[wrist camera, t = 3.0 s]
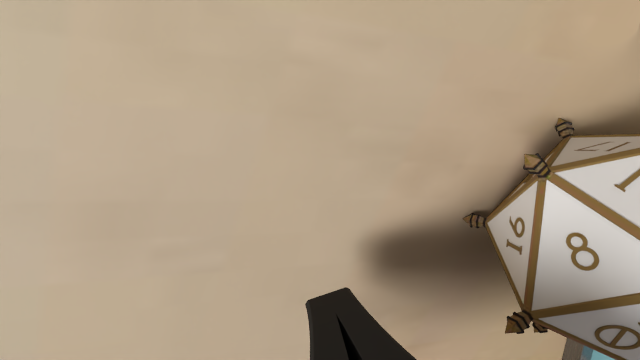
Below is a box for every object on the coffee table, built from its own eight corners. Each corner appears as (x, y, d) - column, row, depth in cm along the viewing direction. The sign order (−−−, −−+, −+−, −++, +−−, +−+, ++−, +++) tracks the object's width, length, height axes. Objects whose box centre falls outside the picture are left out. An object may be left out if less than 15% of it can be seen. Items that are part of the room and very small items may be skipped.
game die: (473, 187, 20) (541, 407, 15) (405, 119, 13) (489, 462, 9) (693, 116, 15) (879, 397, 11) (749, -38, 9) (1258, 494, 4)
